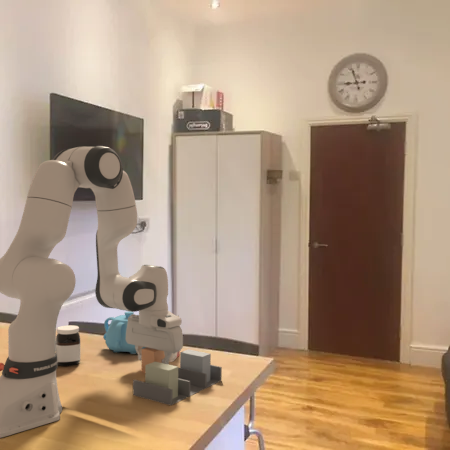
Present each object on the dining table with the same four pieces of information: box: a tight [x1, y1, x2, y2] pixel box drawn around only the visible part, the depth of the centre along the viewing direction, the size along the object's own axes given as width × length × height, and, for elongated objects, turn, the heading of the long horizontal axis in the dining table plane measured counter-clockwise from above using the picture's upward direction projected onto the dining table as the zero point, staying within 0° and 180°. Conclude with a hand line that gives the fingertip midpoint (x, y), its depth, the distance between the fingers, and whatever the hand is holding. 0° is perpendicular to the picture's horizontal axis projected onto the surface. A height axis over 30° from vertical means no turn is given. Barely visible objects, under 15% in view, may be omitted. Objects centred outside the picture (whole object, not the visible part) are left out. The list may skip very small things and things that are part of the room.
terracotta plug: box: [141, 348, 165, 374], centre depth 165 cm, size 5×5×8 cm
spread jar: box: [55, 324, 81, 367], centre depth 176 cm, size 12×11×12 cm
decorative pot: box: [103, 311, 146, 355], centre depth 192 cm, size 16×16×14 cm
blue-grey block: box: [179, 348, 212, 382], centre depth 157 cm, size 4×8×8 cm, turn 57°
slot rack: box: [132, 364, 223, 406], centre depth 151 cm, size 23×13×5 cm, turn 147°
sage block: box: [144, 362, 179, 399], centre depth 145 cm, size 4×8×8 cm, turn 57°
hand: (153, 362), depth 165 cm, fingers open, 8 cm apart
